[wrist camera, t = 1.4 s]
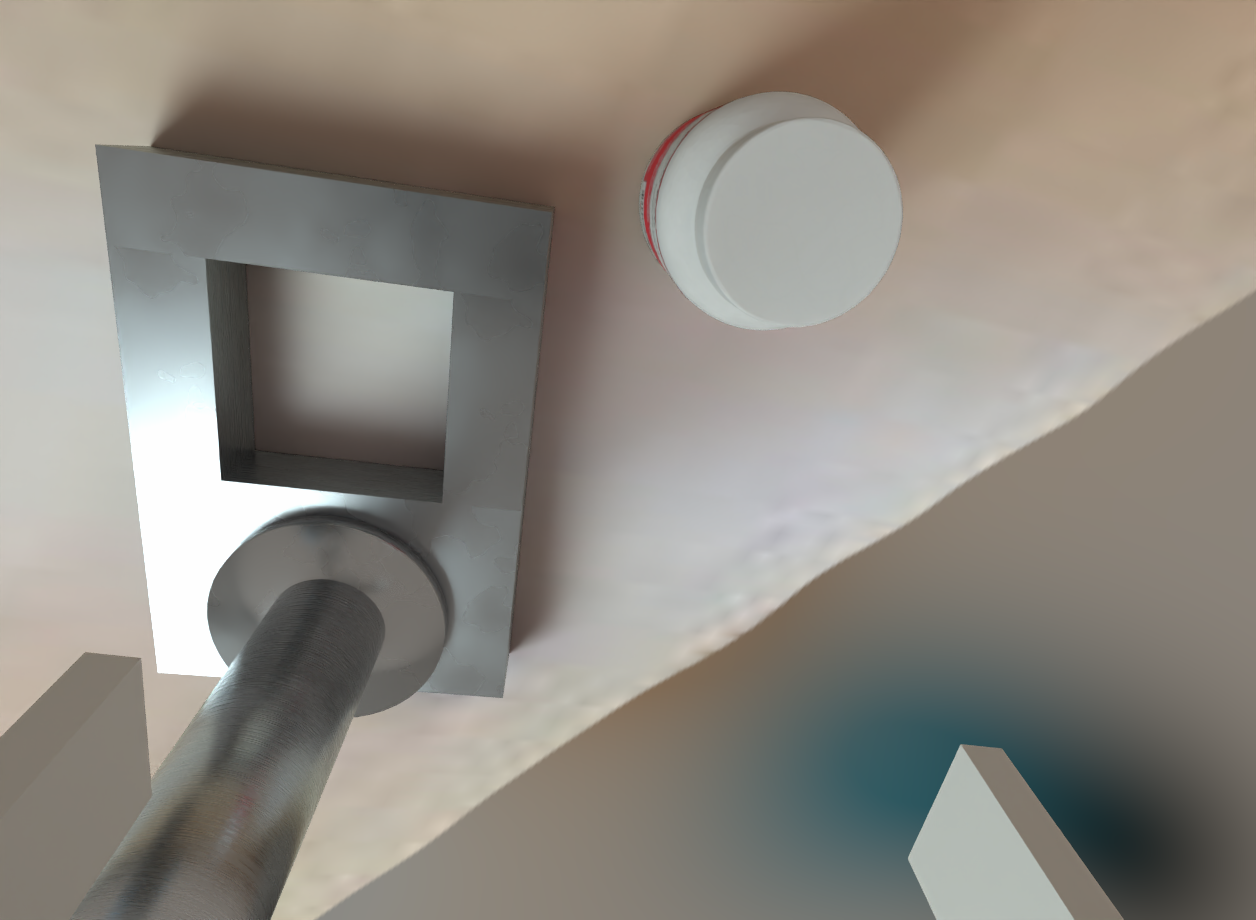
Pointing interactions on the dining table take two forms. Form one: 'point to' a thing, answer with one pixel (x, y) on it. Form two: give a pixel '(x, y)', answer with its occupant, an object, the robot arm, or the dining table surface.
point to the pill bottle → (772, 211)
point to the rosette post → (303, 502)
